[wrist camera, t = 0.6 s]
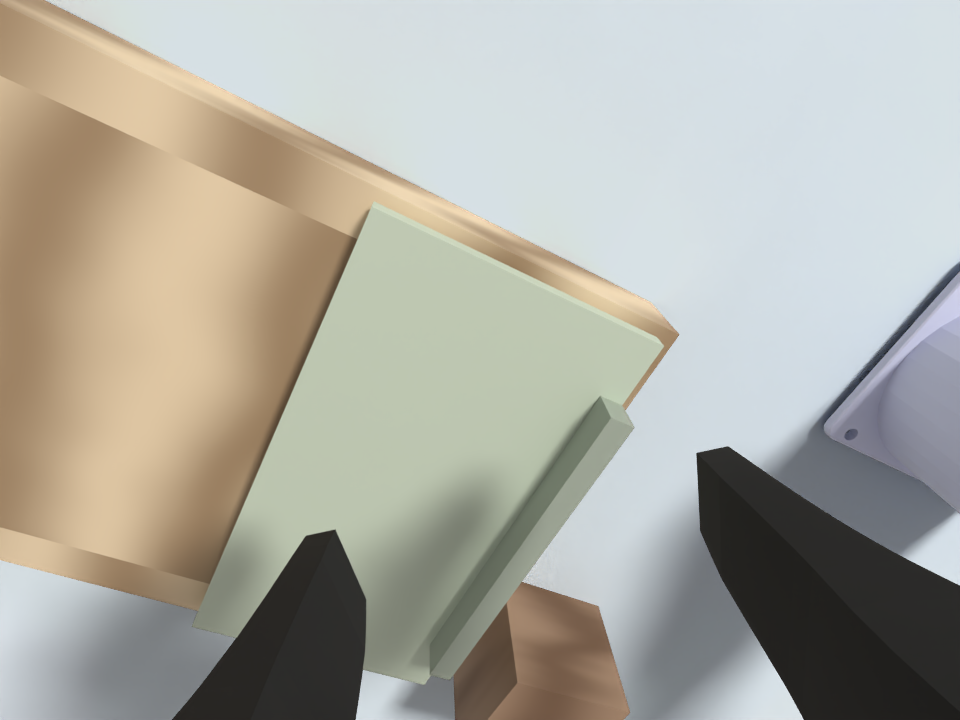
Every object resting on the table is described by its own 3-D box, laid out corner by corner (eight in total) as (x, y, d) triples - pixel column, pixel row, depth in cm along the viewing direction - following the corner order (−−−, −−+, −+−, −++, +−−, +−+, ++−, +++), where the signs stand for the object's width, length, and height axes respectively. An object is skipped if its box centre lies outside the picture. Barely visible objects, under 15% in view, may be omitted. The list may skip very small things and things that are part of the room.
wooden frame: (650, 302, 20) (679, 334, 18) (437, 619, 27) (438, 672, 24) (-185, -115, 14) (-309, -148, 11) (-199, 438, 20) (-280, 487, 18)
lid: (657, 337, 17) (679, 365, 16) (424, 670, 24) (424, 715, 22) (373, 201, 15) (367, 218, 13) (197, 612, 21) (178, 657, 20)
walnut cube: (597, 605, 27) (630, 712, 23) (543, 670, 29) (563, 781, 25) (503, 574, 26) (517, 682, 21) (452, 645, 28) (456, 757, 23)
